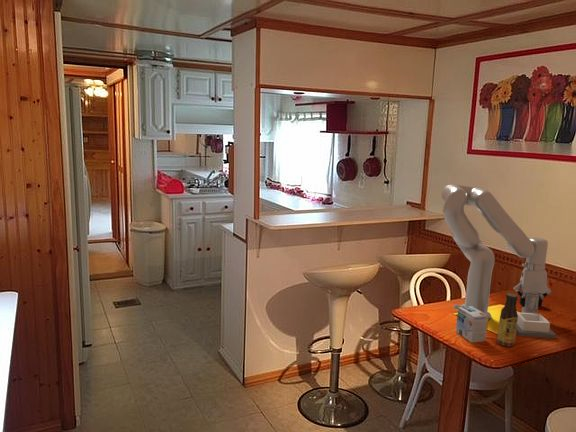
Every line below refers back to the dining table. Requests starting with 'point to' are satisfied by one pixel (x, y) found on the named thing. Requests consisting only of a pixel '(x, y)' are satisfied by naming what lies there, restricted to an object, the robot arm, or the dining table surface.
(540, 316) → the board
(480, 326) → the light bulb box
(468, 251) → the robot arm
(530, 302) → the energy drink can
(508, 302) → the sauce bottle
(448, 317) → the dining table surface
